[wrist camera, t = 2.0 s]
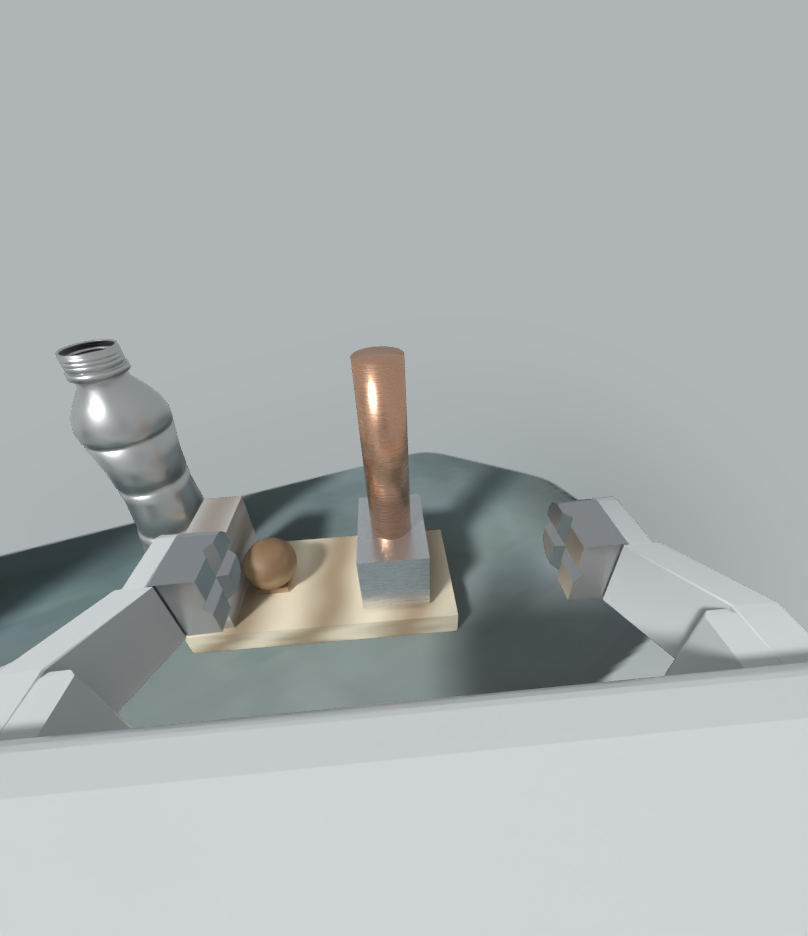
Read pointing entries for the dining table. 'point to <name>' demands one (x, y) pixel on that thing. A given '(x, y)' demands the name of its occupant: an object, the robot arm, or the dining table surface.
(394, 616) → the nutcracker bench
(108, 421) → the plastic bottle
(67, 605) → the dining table surface
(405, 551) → the copper post with base
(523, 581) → the dining table surface
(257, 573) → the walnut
